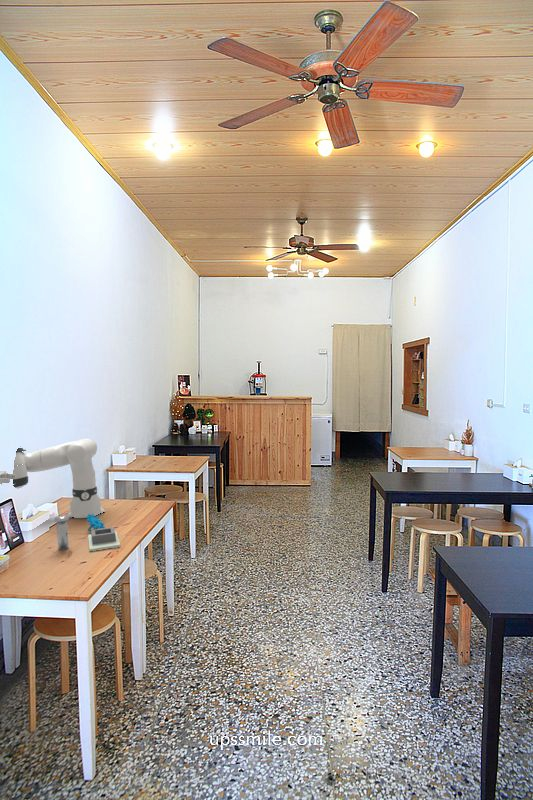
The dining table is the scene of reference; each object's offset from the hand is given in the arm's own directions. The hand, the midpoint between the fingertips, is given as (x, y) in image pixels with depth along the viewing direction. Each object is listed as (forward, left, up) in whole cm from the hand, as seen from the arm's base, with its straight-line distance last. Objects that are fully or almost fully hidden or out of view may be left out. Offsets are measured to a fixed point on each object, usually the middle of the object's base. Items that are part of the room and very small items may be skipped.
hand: (12, 478), depth 205 cm
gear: (-16, +32, -31) cm, 47 cm away
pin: (+4, +18, -31) cm, 36 cm away
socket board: (+4, +34, -31) cm, 46 cm away
